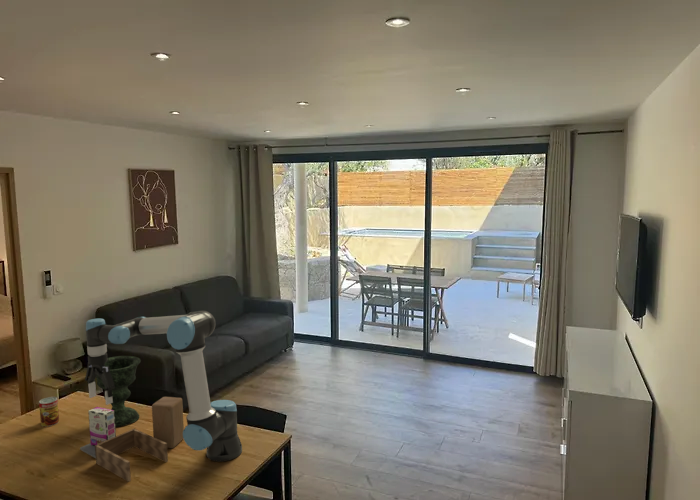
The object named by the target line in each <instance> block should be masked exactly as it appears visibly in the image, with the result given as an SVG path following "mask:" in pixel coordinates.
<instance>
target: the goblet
mask: <svg viewBox="0 0 700 500" xmlns="http://www.w3.org/2000/svg"><path fill="white" fill-rule="evenodd" d="M107 358H108V360H107V362H106V363H105V367H108V366H109V367H110V373H111V376H112V379H113V382H114V385H115V388H114V389H112V399H113V403H111V404H110V405H111V408H110V410H114V413H115V428H119V427H124V426H127V425H130V424H133V423H135V422H137V421H138V420H139V419H140V414H139V412H138V411H137V410H136V409H135V408H133V407H130V406H126V405H125V403H126V401H127V400H128V399H129V397H130V396H131V394H132V393H131V390H130V389H129V388H128V387H129V386H131V385H132V384H133V383H134V382H135V380H136V378H137V377H136V376H137V375H136V372H137V368H138V366H139V365H140V363H141V361H142V360H141V358H139V357H137V356H133V355H118V356H117V355H116V356H112V357H111V356H110V357H107ZM95 379H96V381H97V382H96V384H97V387H99V388H101V389H102V390H104V391H105V389H106V388H105V386H104V384H103V382H102V380H101V378H100V377H99V376H98V375H97V376H96V378H95ZM104 400H105V401H106V399H105V395H104Z"/></svg>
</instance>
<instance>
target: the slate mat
mask: <svg viewBox="0 0 700 500" xmlns="http://www.w3.org/2000/svg"><path fill="white" fill-rule="evenodd" d="M79 450H80V451H82V452H83V453H86V454H87V455H89V456H91V457H92V458H95V459H96V455H95V446H93V445H91V442H90V443H88V444H85V445H83V446H81V447H80V448H79Z"/></svg>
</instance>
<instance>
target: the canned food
mask: <svg viewBox="0 0 700 500" xmlns="http://www.w3.org/2000/svg"><path fill="white" fill-rule="evenodd" d="M58 404H59V400H58V397H57V396H49V397H45V398H41V399H40V400H39V401H38V407H39V419H40V426H42V427H43V426H45V427H46V428H47V426H48V427H52V425H53V426H55V425H57V424H59V423H60V413H59V405H58ZM45 427H44V428H45Z"/></svg>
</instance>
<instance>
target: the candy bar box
mask: <svg viewBox="0 0 700 500" xmlns="http://www.w3.org/2000/svg"><path fill="white" fill-rule="evenodd" d="M87 411H88V424H89V439H90V443H91V445H93V446H95V445H97V444H99V443H102V442H104V441H106V440H109V439H111V438H113V437H116V436H117V432H116V427H115V413H114V410H111V408H110V409H109V408H105V407H100V406H96V407H93V408H92V409H91V408H90V410H87Z"/></svg>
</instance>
